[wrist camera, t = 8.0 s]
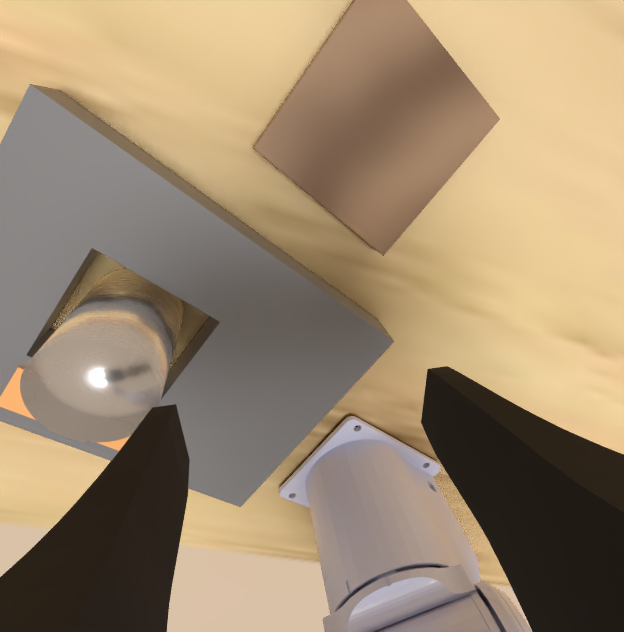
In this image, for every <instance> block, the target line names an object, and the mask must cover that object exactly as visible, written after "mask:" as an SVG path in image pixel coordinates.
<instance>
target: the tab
mask: <svg viewBox="0 0 624 632" xmlns="http://www.w3.org/2000/svg"><path fill="white" fill-rule="evenodd" d="M499 120H500V118H499V117H498V116H497V114H496V113H495V112H494V110H493V109H492V108H491V107H490V105H489V104H488V103H487V102H486V100H485V99H484V98H483V96H482V95H481V94H480V93H479V91H478V90H477V89H476V88H475V86H474V85H473V84H472V83H471V81H470V80H469V79H468V77H467V76H466V75H465V74H464V72H463V71H462V70H461V69H460V67H459V66H458V65H457V63H456V62H455V61H454V60H453V58H452V57H451V56H450V55H449V53H448V52H447V51H446V49H445V48H444V47H443V46H442V44H441V43H440V42H439V41H438V39H437V38H436V37H435V35H434V34H433V33H432V32H431V30H430V29H429V28H428V27H427V25H426V24H425V23H424V21H423V20H422V19H421V18H420V16H419V15H418V14H417V13H416V11H415V10H414V9H413V7H412V6H411V5H410V4H409V2H408V1H407V0H353V2H352V3H351V5H350V6H349V8H348V9H347V11H346V12H345V13H344V15H343V16H342V18H341V19H340V21H339V22H338V24H337V25H336V27H335V28H334V29H333V31H332V32H331V34H330V35H329V37H328V38H327V40H326V41H325V43H324V44H323V46H322V47H321V48H320V50H319V51H318V53H317V54H316V56H315V57H314V59H313V60H312V62H311V63H310V64H309V66H308V67H307V69H306V70H305V72H304V73H303V75H302V76H301V78H300V79H299V80H298V82H297V83H296V85H295V86H294V88H293V89H292V91H291V92H290V94H289V95H288V97H287V98H286V99H285V101H284V102H283V104H282V105H281V107H280V108H279V110H278V111H277V113H276V114H275V115H274V117H273V118H272V120H271V121H270V123H269V124H268V126H267V127H266V129H265V130H264V132H263V133H262V134H261V136H260V137H259V139H258V140H257V142H256V143H255V145H254V146H253V148H254V149H255V150H256V151H257V152H259V153H260V154H261V155H262V156H263V157H265V158H266V159H267V160H268V161H270V162H271V163H272V164H273V165H274V166H276V167H277V168H278V169H279V170H280V171H282V172H283V173H284V174H285V175H286V176H288V177H289V178H290V179H291V180H292V181H294V182H295V183H296V184H297V185H298V186H300V187H301V188H302V189H303V190H305V191H306V192H307V193H308V194H309V195H311V196H312V197H313V198H314V199H315V200H317V201H318V202H319V203H320V204H321V205H323V206H324V207H325V208H326V209H327V210H329V211H330V212H331V213H332V214H334V215H335V216H336V217H337V218H338V219H340V220H341V221H342V222H343V223H344V224H346V225H347V226H348V227H349V228H350V229H352V230H353V231H354V232H355V233H356V234H358V235H359V236H360V237H361V238H362V239H364V240H365V241H366V242H367V243H369V244H370V245H371V246H372V247H373V248H375V249H376V250H377V251H378V252H379V253H381V254H382V255H383V256H384V254H385V253H386V252H387V251H388V250H389V249H390V247H391V246H392V245H393V244H394V243H395V242H396V240H397V239H398V238H399V237H400V236H401V234H402V233H403V232H404V231H405V230H406V229H407V227H408V226H409V225H410V224H411V223H412V222H413V220H414V219H415V218H416V217H417V216H418V215H419V213H420V212H421V211H422V210H423V209H424V208H425V206H426V205H427V204H428V203H429V202H430V201H431V199H432V198H433V197H434V196H435V195H436V194H437V192H438V191H439V190H440V189H441V188H442V186H443V185H444V184H445V183H446V182H447V181H448V179H449V178H450V177H451V176H452V175H453V174H454V172H455V171H456V170H457V169H458V168H459V167H460V165H461V164H462V163H463V162H464V161H465V160H466V158H467V157H468V156H469V155H470V154H471V153H472V151H473V150H474V149H475V148H476V147H477V145H478V144H479V143H480V142H481V141H482V140H483V138H484V137H485V136H486V135H487V134H488V133H489V131H490V130H491V129H492V128H493V127H494V126H495V124H496V123H497V122H498V121H499Z"/></svg>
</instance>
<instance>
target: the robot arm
mask: <svg viewBox="0 0 624 632" xmlns="http://www.w3.org/2000/svg"><path fill="white" fill-rule="evenodd" d="M421 423H422V425H423V428H424V430H425V432H426V435H427V437H428V439H429V441H430V443H431V445H432V447H433V450H434V452H435V454H436V455H437V457H438V459H439V460H440V462H441V464H442V465H443V467H444V468H445V470H446V472H447V473H448V475H449V477H450V478H451V480H452V481H453V483H454V485H455V486H456V488H457V489H458V491H459V493H460V494H461V496H462V497H463V499H464V500H465V502H466V504H467V505H468V507H469V508H470V510H471V512H472V513H473V515H474V516H475V518H476V520H477V521H478V523H479V525H480V526H481V528H482V530H483V532H484V533H485V535H486V537H487V538H488V540H489V542H490V544H491V546H492V548H493V550H494V552H495V554H496V556H497V558H498V560H499V562H500V564H501V566H502V568H503V570H504V572H505V574H506V576H507V578H508V580H509V582H510V584H511V586H512V589H513V591H514V593H515V595H516V597H517V599H518V601H519V603H520V605H521V607H522V610H523V612H524V614H525V616H526V618H527V620H528V622H529V625H530V627H531V629H532V631H531V629H530V627H529V626H528V624H527V623H526V621H525V619H524V618H523V616H522V615H521V614H520V612H519V610H518V609H517V607H516V606H515V605H514V603H513V602H512V601H511V599H510V598H509V597H508V596H507V595H506V594H505V593H504V592H503V591H501V590H499V589H497V588H496V587H494V586H492V585H491V584H490V583H489V582H487V581H482V582H480V569H479V564H478V560H477V556H476V554H475V551H474V549H473V547H472V545H471V543H470V541H469V540H468V538H467V536H466V534H465V532H464V531H463V529H462V527H461V525H460V524H459V522H458V520H457V518H456V517H455V515H454V513H453V511H452V510H451V508H450V506H449V504H448V502H447V501H446V499H445V497H444V495H443V494H442V492H441V490H440V488H439V487H438V485H437V483H436V481H435V479H434V478H433V477H434V476H435V475H436V474H437V473H438V472H439V471H440V469H441V466H440V465H439V463H438V462H436V461H435V460H433V459H431V458H429V457H427V456H426V455H424V454H422V453H420V452H418V451H417V450H415V449H413V448H411V447H409V446H408V445H406V444H404V443H402V442H400V441H399V440H397V439H395V438H393V437H391V436H390V435H388V434H386V433H384V432H382V431H381V430H379V429H377V428H375V427H373V426H371V425H370V424H368V423H366V422H364V421H362V420H361V419H359V418H357V417H355V416H349V417H347V418H346V419H344V421H343V422H342V423H341V424H340V425H339V426H338V427H337V428H336V429H335V430H334V431H333V432H332V433H331V434H330V435H329V436H328V437H327V438H326V440H325V441H324V442H323V443H322V444H321V445H320V446H319V447H318V448H317V449H316V450H315V451H314V452H313V453H312V454H311V455H310V456H309V457H308V458H307V460H306V461H305V462H304V463H303V464H302V465H301V466H300V467H299V468H298V469H297V470H296V471H295V472H294V473H293V474H292V475H291V476H290V477H289V478H288V480H287V481H286V482H285V483H284V484H283V485H282V486H281V487H280V488H279V495H280V496H281V497H282V498H285V499H287V500H290V501H292V502H295V503H297V504H300V505H303V506H305V507H308V508H310V513H311V518H312V524H313V529H314V534H315V539H316V544H317V549H318V554H319V559H320V564H321V569H322V574H323V579H324V585H325V590H326V594H327V599H328V604H329V610H330V615H329V616H326V617H324V619H323V624H324V630H325V632H624V455H623V454H621V453H618V452H615V451H613V450H610V449H608V448H605V447H603V446H601V445H598V444H596V443H594V442H591V441H589V440H587V439H584V438H582V437H580V436H578V435H575V434H573V433H571V432H569V431H566V430H564V429H562V428H560V427H558V426H556V425H554V424H552V423H550V422H548V421H546V420H544V419H542V418H540V417H538V416H536V415H534V414H532V413H530V412H528V411H526V410H525V409H523V408H521V407H519V406H517V405H515V404H513V403H512V402H510V401H508V400H506V399H505V398H503V397H501V396H499V395H497V394H496V393H494V392H492V391H490V390H489V389H487V388H485V387H483V386H482V385H480V384H478V383H477V382H475V381H473V380H471V379H470V378H468V377H466V376H464V375H463V374H461V373H459V372H457V371H455V370H453V369H451V368H449V367H447V366H446V367H439V368H432V369H428V371H427V379H426V387H425V396H424V404H423V412H422V420H421ZM358 425H359V426H358ZM355 426H358V427H355ZM189 463H190V459H189V455H188V451H187V447H186V443H185V439H184V435H183V431H182V427H181V423H180V418H179V414H178V410H177V406H176V404H174V405H166V406H159V407H152V409H151V410H150V411H149V412H148V413H147V415H146V416H145V417H144V419H143V420H142V421H141V423H140V424H139V425H138V427H137V428H136V429H135V431H134V432H133V433H132V435H131V436H130V437H129V439H128V440H127V441H126V443H125V444H124V445H123V447H122V448H121V449H120V451H119V452H118V453H117V454H116V456H115V457H114V458H113V459H112V461H111V462H110V463H109V464H108V466H107V467H106V468H105V469H104V471H103V472H102V473H101V474H100V476H99V477H98V478H97V479H96V480H95V481H94V483H93V484H92V485H91V486H90V487H89V488H88V489H87V491H86V492H85V493H84V494H83V495H82V496H81V498H80V499H79V500H78V501H77V502H76V503H75V504H74V506H73V507H72V508H71V509H70V510H69V511H68V512H67V513H66V514H65V515H64V516H63V517H62V519H61V520H60V521H59V522H58V523H57V524H56V525H55V526H54V527H53V528H52V529H51V530H50V531H49V532H48V533H47V534H46V535H45V536H44V537H43V538H42V539H41V540H40V541H39V542H38V543H37V544H36V545H35V546H34V547H33V548H32V549H31V550H30V551H29V552H28V553H27V554H26V555H24V557H22V558H21V559H20V560H19V561H18V562H17V563H16V564H15V565H13V566H12V568H10V569H9V570H8V571H7V572H6V573H5V574H3V576H1V577H0V632H167V620H168V609H169V601H170V594H171V587H172V581H173V576H174V570H175V565H176V558H177V553H178V548H179V542H180V537H181V531H182V526H183V520H184V514H185V508H186V502H187V496H188V482H189ZM291 493H292V494H291Z"/></svg>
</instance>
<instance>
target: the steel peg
mask: <svg viewBox="0 0 624 632" xmlns="http://www.w3.org/2000/svg"><path fill="white" fill-rule="evenodd" d="M183 311H184V310H183V303H182V300H181V299H180V298H178V297H176V296H174V295H173V294H171V293H169V292H168V291H166V290H164V289H162V288H161V287H159V286H157V285H155V284H154V283H152V282H150V281H148V280H147V279H145V278H143V277H142V276H140V275H138V274H136V273H135V272H133V271H131V270H129V269H128V268H124V269H119V270H115V271H113V272H111V273H109V274H107V275H105V276H104V277H103V278H102V279H100V281H99V282H98V283H97V284H96V285H95V286H94V287H93V288H92V290H91V291H90V292H89V293H88V294H87V295H86V296H85V298H84V299H83V300H82V301H81V302H80V303H79V304H78V306H77V307H76V308H75V309H74V310H73V311H72V312H71V314H70V315H69V316H68V317H67V318H66V319H65V320H64V322H63V323H62V324H61V325H60V326H59V327H58V328H57V330H56V331H55V332H54V333H53V334H52V335H51V336H50V338H49V339H48V340H47V341H46V342H45V343H44V344H43V346H42V347H41V348H40V349H39V350H38V351H37V353H36V354H35V355H34V356H33V357H32V358H31V359H30V361H29V362H28V363H27V365H26V366H25V368H24V370H23V372H22V375H21V380H20V392H21V397H22V400H23V402H24V404H25V406H26V408H27V410H28V411H29V412H30V414H31V415H32V416H33V417H34V418H35V419H36V420H37V421H38V422H39V423H40V424H42V425H43V426H44V427H46V428H47V429H49V430H51V431H53V432H55V433H57V434H59V435H61V436H64V437H66V438H70V439H73V440H78V441H83V442H110V441H116V440H120V439H123V438H126V437H129V436H131V435H132V433H133V432H134V431H135V429H136V428H137V427H138V425H139V424H140V423H141V421H142V420H143V419H144V417H145V416H146V415H147V413H148V412H149V411H150V410H151V409H152V407H159V405H160V401H161V398H162V394H163V390H164V386H165V383H166V379H167V375H168V372H169V368H170V364H171V360H172V357H173V353H174V349H175V345H176V342H177V338H178V334H179V331H180V327H181V323H182V319H183Z"/></svg>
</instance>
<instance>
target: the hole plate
mask: <svg viewBox="0 0 624 632" xmlns="http://www.w3.org/2000/svg"><path fill="white" fill-rule="evenodd" d="M97 252H100V253H102V254H104V255H105V256H107V257H109V258H110V259H112V260H114V261H116V262H117V263H119V264H121V265H123V266H124V267H126V268H128V269H129V270H131V271H133V272H135V273H136V274H138V275H140V276H142V277H143V278H145V279H147V280H148V281H150V282H152V283H154V284H155V285H157V286H159V287H161V288H162V289H164V290H166V291H168V292H169V293H171V294H173V295H174V296H176V297H178V298H180V299H181V300H183V301H185V302H187V303H188V304H190V305H192V306H193V307H195V308H197V309H199V310H200V311H202V312H204V313H206V314H207V315H209V316H210V317H209V318H208V320H207V321H206V322H205V324H204V325H203V326H202V328H201V329H200V330H199V332H198V333H197V334H196V336H195V337H194V338H193V340H192V341H191V342H190V344H189V345H188V346H187V348H186V349H185V350H184V352H183V353H182V354H181V356H180V357H179V358H178V360H177V361H176V362H175V364H174V365H173V366H172V368H171V369H170V370H169V372H168V375H167V379H166V383H165V386H164V390H163V394H162V398H161V401H160V405H159V406H166V405H174V404H176V406H177V410H178V414H179V418H180V423H181V427H182V431H183V435H184V439H185V443H186V447H187V451H188V455H189V459H190V463H189V482H188V488H189V489H191V490H194V491H197V492H200V493H203V494H205V495H208V496H211V497H214V498H217V499H219V500H222V501H225V502H228V503H231V504H233V505H236V506H239V507H241V506H242V505H243V504H244V503H245V502H246V501H247V500H248V498H249V497H250V496H251V495H252V494H253V493H254V492H255V491H256V490H257V489H258V488H259V487H260V486H261V484H262V483H263V482H264V481H265V480H266V479H267V478H268V477H269V476H270V475H271V474H272V473H273V472H274V470H275V469H276V468H277V467H278V466H279V465H280V464H281V463H282V462H283V461H284V460H285V459H286V458H287V456H288V455H289V454H290V453H291V452H292V451H293V450H294V449H295V448H296V447H297V446H298V445H299V444H300V442H301V441H302V440H303V439H304V438H305V437H306V436H307V435H308V434H309V433H310V432H311V431H312V430H313V428H314V427H315V426H316V425H317V424H318V423H319V422H320V421H321V420H322V419H323V418H324V417H325V415H326V414H327V413H328V412H329V411H330V410H331V409H332V408H333V407H334V406H335V405H336V404H337V403H338V401H339V400H340V399H341V398H342V397H343V396H344V395H345V394H346V393H347V392H348V391H349V390H350V389H351V387H352V386H353V385H354V384H355V383H356V382H357V381H358V380H359V379H360V378H361V377H362V376H363V375H364V373H365V372H366V371H367V370H368V369H369V368H370V367H371V366H372V365H373V364H374V363H375V362H376V361H377V359H378V358H379V357H380V356H381V355H382V354H383V353H384V352H385V351H386V350H387V349H388V348H389V347H390V345H391V344H392V343H393V342H394V341H393V339H392V338H391V336H390V335H389V334H388V332H387V331H386V330H385V328H384V327H383V326H382V324H381V323H380V322H379V320H378V319H376V318H375V317H373V316H372V315H371V314H369V313H368V312H366V311H365V310H364V309H362V308H361V307H360V306H358V305H357V304H355V303H354V302H353V301H351V300H350V299H348V298H347V297H346V296H344V295H343V294H342V293H340V292H339V291H337V290H336V289H335V288H333V287H332V286H330V285H329V284H328V283H326V282H325V281H324V280H322V279H321V278H319V277H318V276H317V275H315V274H314V273H312V272H311V271H310V270H308V269H307V268H306V267H304V266H303V265H301V264H300V263H299V262H297V261H296V260H294V259H293V258H292V257H290V256H289V255H288V254H286V253H285V252H283V251H282V250H281V249H279V248H278V247H277V246H275V245H274V244H272V243H271V242H270V241H268V240H267V239H265V238H264V237H263V236H261V235H260V234H259V233H257V232H256V231H254V230H253V229H252V228H250V227H249V226H247V225H246V224H245V223H243V222H242V221H241V220H239V219H238V218H236V217H235V216H234V215H232V214H231V213H229V212H228V211H227V210H225V209H224V208H223V207H221V206H220V205H218V204H217V203H216V202H214V201H213V200H211V199H210V198H209V197H207V196H206V195H205V194H203V193H202V192H200V191H199V190H198V189H196V188H195V187H193V186H192V185H191V184H189V183H188V182H187V181H185V180H184V179H182V178H181V177H180V176H178V175H177V174H175V173H174V172H173V171H171V170H170V169H169V168H167V167H166V166H164V165H163V164H162V163H160V162H159V161H157V160H156V159H155V158H153V157H152V156H151V155H149V154H148V153H146V152H145V151H144V150H142V149H141V148H139V147H138V146H137V145H135V144H134V143H133V142H131V141H130V140H128V139H127V138H126V137H124V136H123V135H121V134H120V133H119V132H117V131H116V130H115V129H113V128H112V127H110V126H109V125H108V124H106V123H105V122H103V121H102V120H101V119H99V118H98V117H97V116H95V115H94V114H92V113H91V112H90V111H88V110H87V109H86V108H84V107H83V106H81V105H80V104H79V103H77V102H76V101H74V100H73V99H72V98H70V97H69V96H68V95H66V94H65V93H63V92H62V91H61V90H57V89H52V88H47V87H42V86H37V85H32V84H30V85H29V87H28V89H27V91H26V93H25V95H24V97H23V99H22V101H21V103H20V105H19V107H18V109H17V111H16V114H15V116H14V118H13V120H12V122H11V124H10V126H9V128H8V130H7V132H6V134H5V136H4V138H3V140H2V142H1V144H0V421H2V422H4V423H7V424H10V425H13V426H15V427H18V428H21V429H24V430H27V431H29V432H32V433H35V434H38V435H41V436H43V437H46V438H49V439H52V440H55V441H57V442H60V443H63V444H66V445H69V446H71V447H74V448H77V449H80V450H83V451H85V452H88V453H91V454H94V455H96V456H99V457H102V458H105V459H108V460H110V461H112V459H113V458H114V457H115V456H116V454H117V453H118V452H119V451H120V449H121V448H122V447H123V445H124V444H125V443H126V441H127V440H128V439H129V437H130V436H129V437H126V438H123V439H120V440H116V441H110V442H83V441H78V440H73V439H70V438H66V437H64V436H61V435H59V434H57V433H55V432H53V431H51V430H49V429H47V428H46V427H44V426H43V425H42V424H40V423H39V422H38V421H37V420H36V419H35V418H34V417H33V416H32V415H31V414H30V412H29V411H28V410H27V408H26V406H25V404H24V402H23V400H22V397H21V392H20V380H21V375H22V372H23V370H24V368H25V366H26V365H27V363H28V362H29V361H30V359H31V358H32V357H33V356H34V355H35V354H36V353H37V351H38V350H39V349H40V348H41V347H42V346H43V344H44V343H45V342H46V341H47V340H48V339H49V338H50V336H51V335H52V334H53V333H54V332H55V330H52V329H50V328H51V327H52V325H53V323H54V322H55V320H56V319H57V317H58V315H59V314H60V312H61V310H62V309H63V307H64V306H65V304H66V302H67V301H68V299H69V298H70V296H71V294H72V293H73V291H74V289H75V288H76V286H77V285H78V283H79V281H80V280H81V278H82V276H83V275H84V273H85V272H86V270H87V268H88V267H89V265H90V264H91V262H92V260H93V259H94V257H95V255H96V254H97Z"/></svg>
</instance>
